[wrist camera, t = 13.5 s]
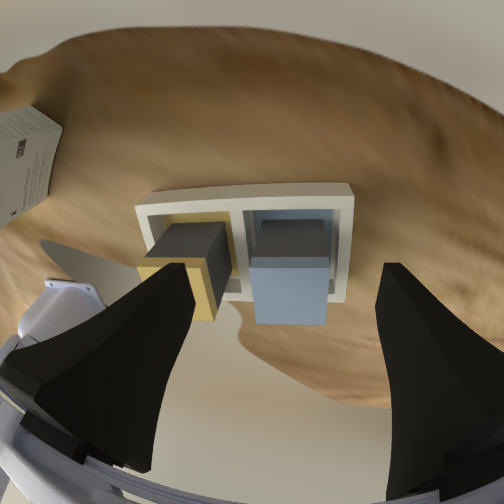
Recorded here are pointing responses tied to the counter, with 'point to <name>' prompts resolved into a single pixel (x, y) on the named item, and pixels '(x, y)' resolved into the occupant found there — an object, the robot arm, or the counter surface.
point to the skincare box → (25, 160)
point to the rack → (257, 222)
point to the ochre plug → (195, 262)
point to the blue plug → (290, 272)
